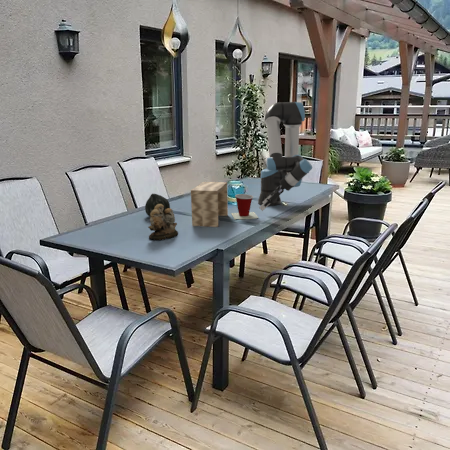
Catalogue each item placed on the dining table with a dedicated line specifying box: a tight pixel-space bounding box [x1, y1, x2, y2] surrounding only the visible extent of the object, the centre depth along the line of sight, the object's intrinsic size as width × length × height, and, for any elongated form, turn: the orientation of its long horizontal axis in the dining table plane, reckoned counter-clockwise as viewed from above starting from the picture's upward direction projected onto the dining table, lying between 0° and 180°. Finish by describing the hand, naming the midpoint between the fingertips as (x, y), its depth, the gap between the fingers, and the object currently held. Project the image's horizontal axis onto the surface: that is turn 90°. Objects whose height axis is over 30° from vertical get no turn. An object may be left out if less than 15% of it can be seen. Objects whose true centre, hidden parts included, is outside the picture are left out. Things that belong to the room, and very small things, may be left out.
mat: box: [231, 211, 259, 221], centre depth 264 cm, size 14×14×1 cm
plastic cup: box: [234, 193, 254, 216], centre depth 263 cm, size 11×11×12 cm
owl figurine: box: [147, 204, 179, 241], centre depth 226 cm, size 18×12×17 cm, turn 144°
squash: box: [144, 193, 171, 218], centre depth 266 cm, size 14×15×15 cm
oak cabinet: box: [190, 181, 229, 228], centre depth 254 cm, size 14×26×20 cm, turn 167°
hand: (262, 206), depth 261 cm, fingers open, 13 cm apart
